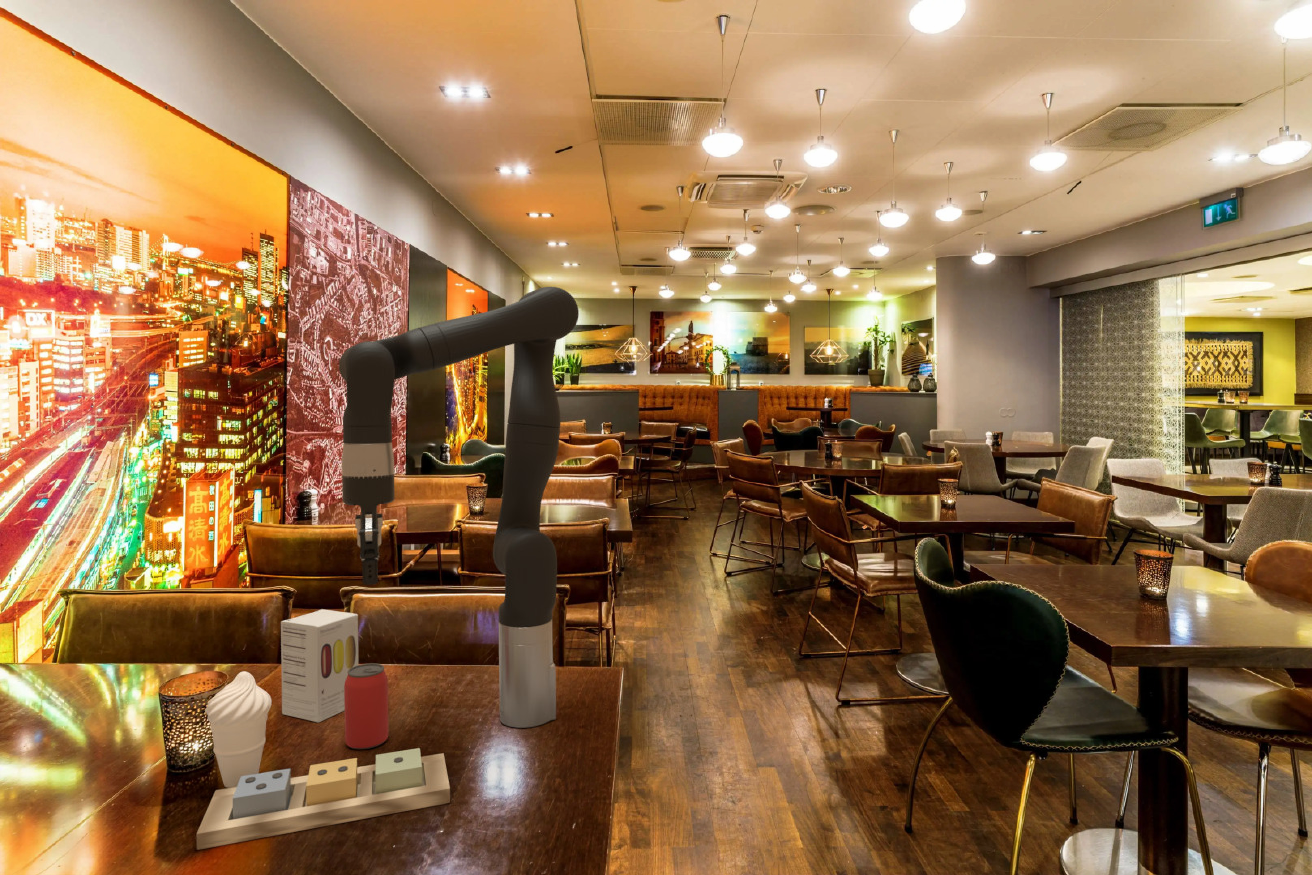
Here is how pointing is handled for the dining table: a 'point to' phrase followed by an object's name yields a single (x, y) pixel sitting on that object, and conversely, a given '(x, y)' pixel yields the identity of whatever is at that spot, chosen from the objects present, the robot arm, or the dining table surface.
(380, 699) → the beer can
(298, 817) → the board
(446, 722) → the dining table surface
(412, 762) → the tile one
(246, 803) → the tile three
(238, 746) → the soft serve ice cream cone
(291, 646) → the supplement box
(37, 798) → the dining table surface
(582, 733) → the dining table surface
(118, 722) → the dining table surface
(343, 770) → the tile two
